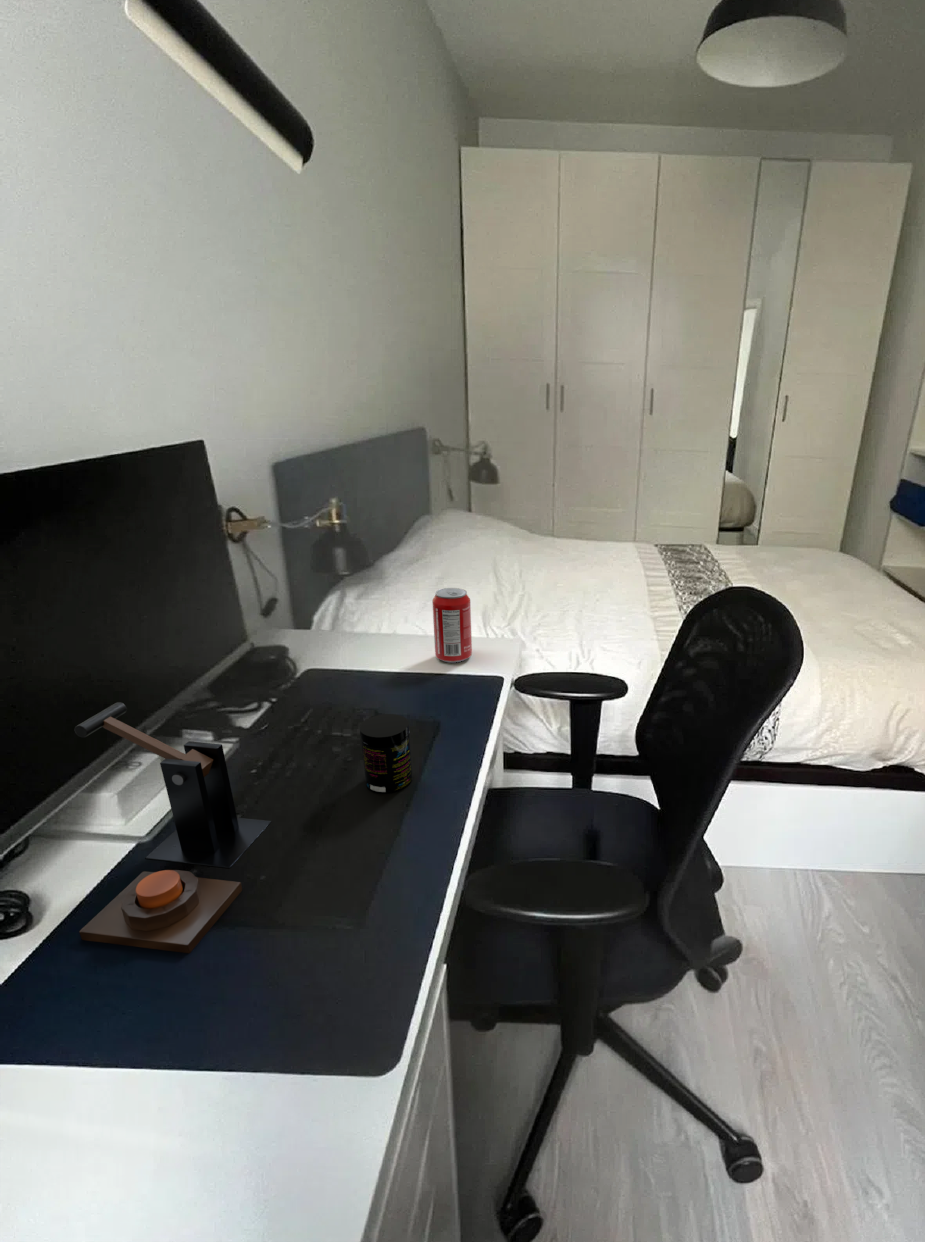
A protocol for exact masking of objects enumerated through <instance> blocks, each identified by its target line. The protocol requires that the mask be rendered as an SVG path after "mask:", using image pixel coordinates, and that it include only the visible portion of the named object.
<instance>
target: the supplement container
mask: <svg viewBox="0 0 925 1242" xmlns="http://www.w3.org/2000/svg"><path fill="white" fill-rule="evenodd" d="M359 734H360V735H359V737H360V738H359V739H360V742H361V743H360V744H361V751H362V762H363V770H364V779H365V786H366V788H367V790H368V791H369V792H371V793H374V794H379V795H388V794H389V795H390V794H395V793H399V792H401V791H403V790H405V789H407V788H408V787H410V785H411V784H412V782H413V781H414V780H413V766H412V765H413V764H412V753H411V751H412V750H411V738H410V734H411V733H410V723H409V720H408V719H407V718H406V717H405V716H403V715H399V714H394V713H385V714H378V715H374V716H371V717H369V718H367V719H365V720H364V721H362V722H361V724H360V725H359Z"/></svg>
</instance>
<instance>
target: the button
mask: <svg viewBox="0 0 925 1242" xmlns="http://www.w3.org/2000/svg"><path fill="white" fill-rule="evenodd" d="M172 870H173V869H164V870H159V871H154V872H155V873H153V874H150V875H149V876H147V877H145V878H144V879H142V880H141V881H140V882H139V883H138V885H137V887H136V894H137V898H138V901H139V904H140V906H141V907H143V908H145V909H154V908H158V907H162V906H165V905H167V904H169V903H171V902H172V901H174V900H176V899H177V898H178V897H179V896H180V895H181V893H182V890H183V888H182V884H181V880H180V876H179V874H178V873H177V872H175V871H172Z"/></svg>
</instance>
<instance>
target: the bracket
mask: <svg viewBox="0 0 925 1242" xmlns="http://www.w3.org/2000/svg"><path fill="white" fill-rule="evenodd" d="M223 746H224V745H223V744H221V743H212V742H202V741H192V740H191V741H190V740H188V741H187V742H185V744H183V749H184V754H187V753H188V752H189V751H191V750H192V749H194V750H196V751H198V752H200V753H202V754H204V755H206V756H208V757H210V758H212V759H213V763H212V765H211V768H210V771H209V774H207V775H206V776H205V777H204V775H203V771H202V766H201V762H196V761H186V760H175V759H165V758H164V759H163V760H162V761H161V762H159V765H160V769H161V773H162V777H163V781H164V785H165V789H166V792H167V798H168V801H169V805H170V808H171V812H172V818H173V821H174V825H175V830H174V831H173V832H172V833H171V834H169V835H168V836H167V837H166V838H164V840H163V841H161V843H159V844H158V845H157V846H156V847H155V848H154V849H153V850H152V851H151V852H149V854H147V855H146V856H145V857H144V859H145V860H152V861H159V862H169V863H179V864H185V865H187V864H188V865H195V866H203V867H213V868H222V869H231V868H232V867H233V866H234V865H236V863H237V862H238V861H239V860H240V858H241V857H242V856H243V855H244V854H245V853H246V852H247V850H248V849H249V848H250V847H251V846H252V845H253V844H254V842H255V841H256V840H257V839H258V838H259V837H260V836H261V835H262V834H263V833H264V831H265V830H266V829H267V828H268V827H269V826H270V825H271V823H272V820H265V819H256V818H245V817H238V816H237V811H236V806H235V802H234V797H233V791H232V786H231V782H230V776H229V771H228V766H227V762H226V757H225V752H224V747H223Z"/></svg>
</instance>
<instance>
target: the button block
mask: <svg viewBox="0 0 925 1242" xmlns="http://www.w3.org/2000/svg"><path fill="white" fill-rule="evenodd" d="M171 870H172V871H175V872H177V873H178V874H179V876H180V880H181V884H182V888H183V890H182V893H181V895H180V896H179V897H178V898H177V899H176V900H174V901H172V902H171V903H169V904H167V905H165V906H162V907H158V908H154V909H145V908H143V907H141V906H140V904H139V901H138V898H137V894H136V887H137V885H138V883H139V882H140V881H141V880H142V879H144V878H145V877H147V876H149V875H150V874H153V873H155V872H156V871H145V870H144V871H142V872H141V873H140V874H139V875H138V876H136V878H135V879H133V880H132V881H131V882H130V883H129V884H128V885H127V886H126V887H124V889H123V890H122V891H120V892H119V894H117V895H116V896H115V897H114V898H113V899H112V900H111V901H110V902H109V903H107V905H105V907H104V908H102V909H101V910H100V911H99V912H98V913H97V914H96V915H95V916H94V917H93V918H92V919H90V921H88V922H87V923H86V925H84V926H83V927H82V928H81V929H80V930H79V931H78V933H79V936H80V939H81V941H88V942H95V943H102V944H103V943H104V944H113V945H118V946H119V945H120V946H127V947H128V946H129V947H135V948H144V949H150V950H159V951H167V952H168V951H169V952H175V953H184V954H191V953H192V952H193V950H194V949H195V948H196V946H198V944H199V943H200V942H201V941H202V940H203V938H204V937H205V936H206V935H207V934H208V932H209V931H210V930H211V929H212V927H213V926H214V925H215V924H216V923H217V921H219V919H220V918H221V916H222V915H223V914H224V913H225V912H226V911H227V909H228V908H229V907H230V906H231V904H233V902H234V901H235V900H236V898H237V897H238V896H239V895H240V894H241V893H242V891H243V887H242V882H241V881H232V880H225V879H224V880H223V879H217V878H216V879H214V878H207V877H206V878H205V877H198V876H195V874H193V873H192V872H191V871H189V870H179V869H171Z"/></svg>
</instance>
